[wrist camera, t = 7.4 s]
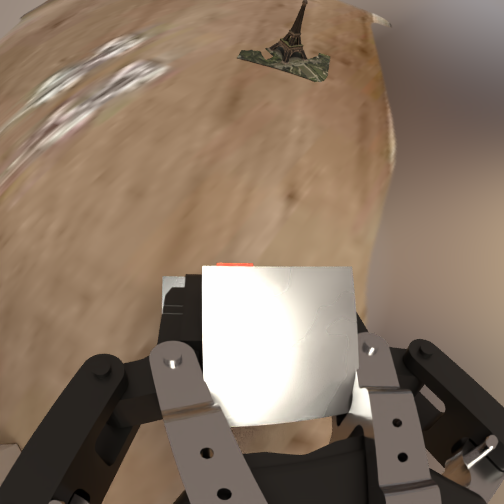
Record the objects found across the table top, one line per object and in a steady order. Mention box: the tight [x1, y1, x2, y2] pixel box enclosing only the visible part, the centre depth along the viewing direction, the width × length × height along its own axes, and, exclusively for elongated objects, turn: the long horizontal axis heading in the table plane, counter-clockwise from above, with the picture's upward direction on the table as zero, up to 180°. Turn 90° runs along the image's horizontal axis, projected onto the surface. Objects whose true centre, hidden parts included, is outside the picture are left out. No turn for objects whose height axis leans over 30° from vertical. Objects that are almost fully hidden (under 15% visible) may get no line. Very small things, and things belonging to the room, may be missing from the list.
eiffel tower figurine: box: [237, 0, 330, 82], centre depth 36 cm, size 15×10×13 cm
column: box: [202, 266, 359, 427], centre depth 15 cm, size 4×4×16 cm
